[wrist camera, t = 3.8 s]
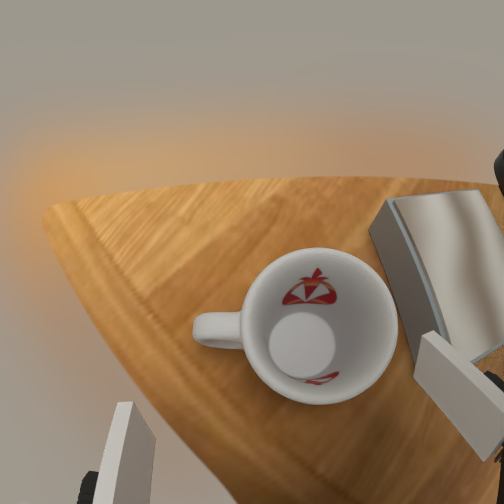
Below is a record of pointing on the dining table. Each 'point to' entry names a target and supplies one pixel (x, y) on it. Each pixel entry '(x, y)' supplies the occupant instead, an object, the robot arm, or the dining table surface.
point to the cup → (311, 326)
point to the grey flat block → (444, 269)
